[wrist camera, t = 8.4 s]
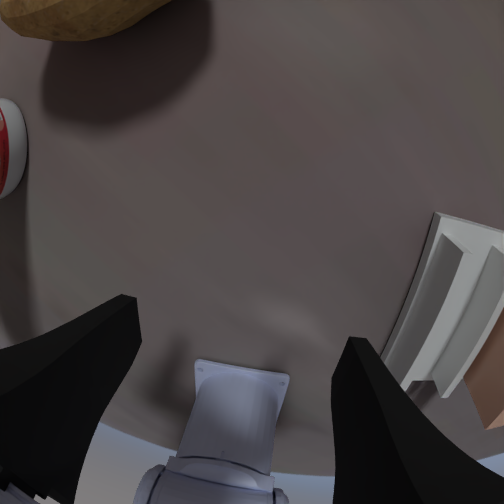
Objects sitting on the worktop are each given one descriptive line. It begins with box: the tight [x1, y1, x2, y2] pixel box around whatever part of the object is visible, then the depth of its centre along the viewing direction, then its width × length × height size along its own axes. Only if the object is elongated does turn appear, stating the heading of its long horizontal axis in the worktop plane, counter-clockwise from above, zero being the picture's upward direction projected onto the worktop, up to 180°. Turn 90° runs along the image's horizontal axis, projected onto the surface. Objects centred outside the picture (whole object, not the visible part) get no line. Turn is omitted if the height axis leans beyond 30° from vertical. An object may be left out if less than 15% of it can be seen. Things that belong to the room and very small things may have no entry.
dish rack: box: [380, 212, 504, 398], centre depth 17 cm, size 14×16×4 cm
